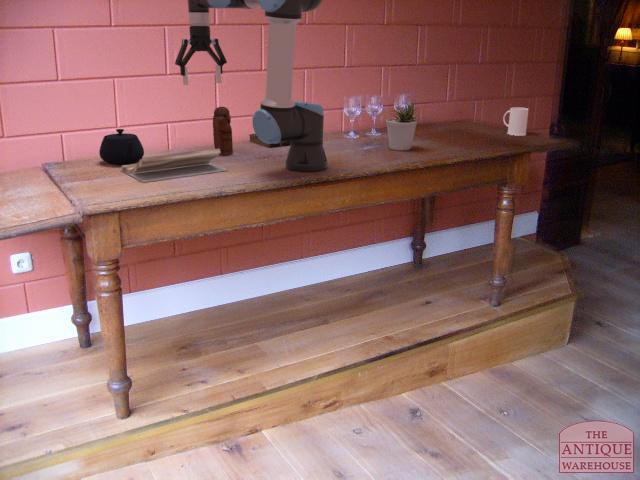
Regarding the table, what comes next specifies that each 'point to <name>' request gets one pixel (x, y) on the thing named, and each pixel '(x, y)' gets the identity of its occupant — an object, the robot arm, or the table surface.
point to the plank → (175, 160)
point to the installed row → (130, 167)
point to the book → (256, 140)
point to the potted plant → (402, 129)
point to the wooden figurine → (222, 131)
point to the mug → (517, 121)
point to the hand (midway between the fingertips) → (202, 83)
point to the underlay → (176, 172)
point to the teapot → (121, 148)
